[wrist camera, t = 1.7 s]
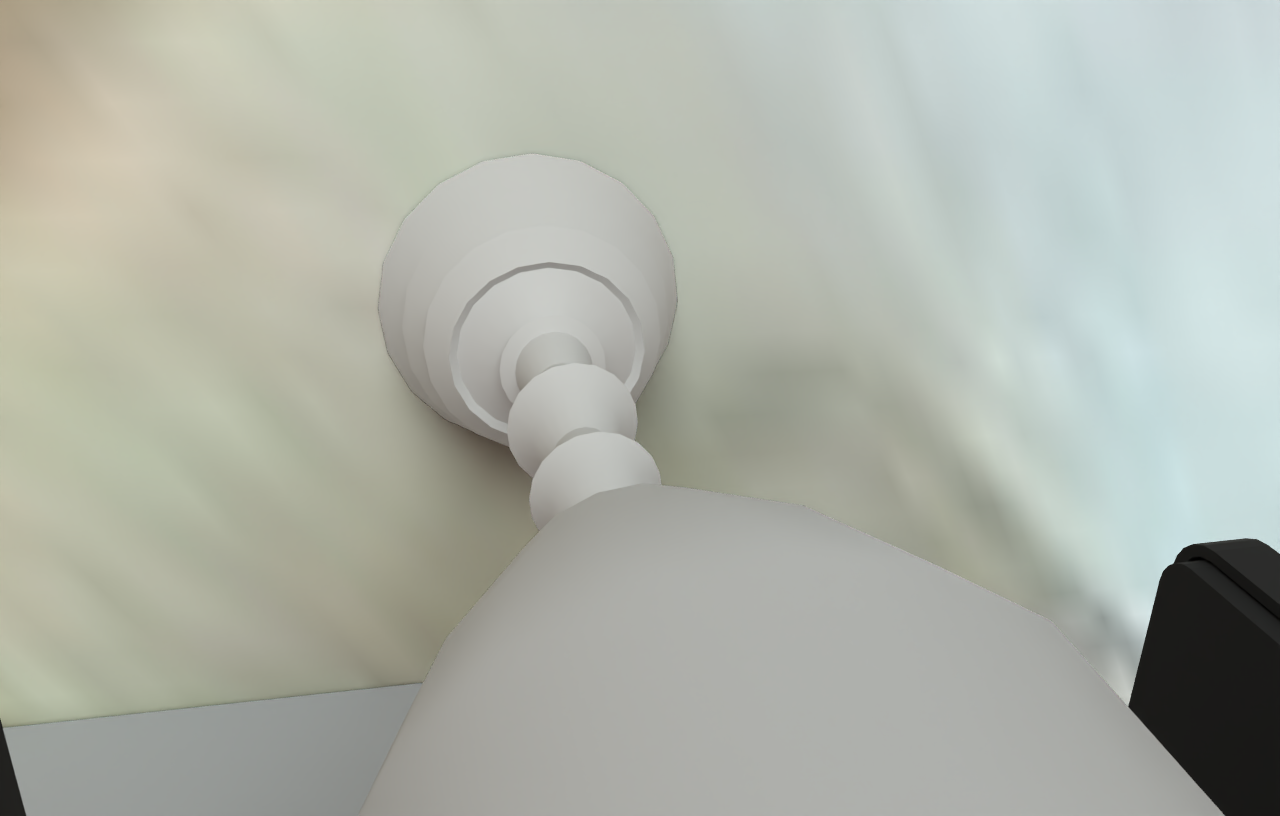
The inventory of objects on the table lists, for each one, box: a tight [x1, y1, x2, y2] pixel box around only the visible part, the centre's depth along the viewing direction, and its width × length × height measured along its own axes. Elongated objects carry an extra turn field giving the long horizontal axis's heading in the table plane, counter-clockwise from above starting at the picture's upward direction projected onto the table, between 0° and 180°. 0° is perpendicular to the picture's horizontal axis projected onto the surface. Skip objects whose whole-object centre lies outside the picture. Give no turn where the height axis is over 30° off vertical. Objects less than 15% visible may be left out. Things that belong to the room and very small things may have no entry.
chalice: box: [358, 153, 1225, 816], centre depth 12 cm, size 7×7×18 cm
